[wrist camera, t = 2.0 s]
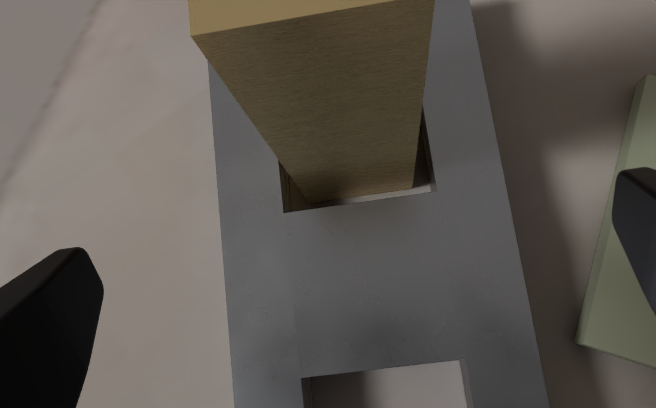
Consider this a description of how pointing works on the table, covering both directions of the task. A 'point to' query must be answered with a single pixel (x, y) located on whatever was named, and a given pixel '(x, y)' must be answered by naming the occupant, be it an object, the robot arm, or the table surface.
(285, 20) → the brass peg
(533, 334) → the steel rail plate
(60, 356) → the robot arm
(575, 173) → the table surface
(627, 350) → the olive rubber mat
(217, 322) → the table surface
